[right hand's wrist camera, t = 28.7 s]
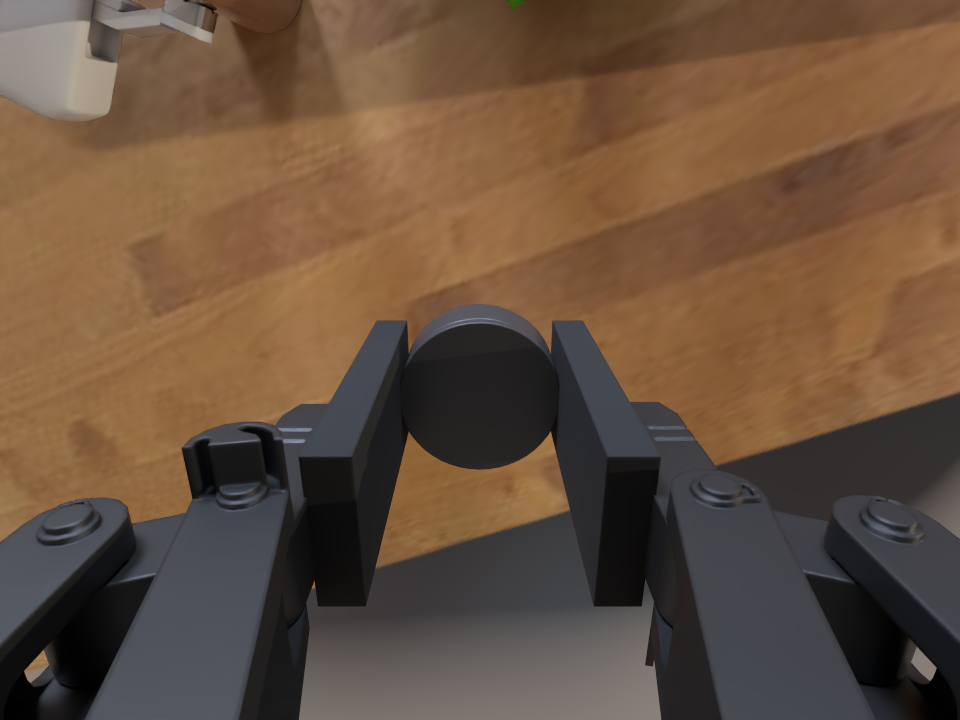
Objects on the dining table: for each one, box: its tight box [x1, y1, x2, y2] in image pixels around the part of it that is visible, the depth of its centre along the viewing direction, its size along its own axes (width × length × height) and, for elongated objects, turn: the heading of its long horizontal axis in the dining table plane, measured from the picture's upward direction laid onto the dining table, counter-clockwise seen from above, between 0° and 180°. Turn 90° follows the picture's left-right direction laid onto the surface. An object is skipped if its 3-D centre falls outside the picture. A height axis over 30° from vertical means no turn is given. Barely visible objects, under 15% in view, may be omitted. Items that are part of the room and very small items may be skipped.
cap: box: [400, 304, 559, 469], centre depth 14 cm, size 4×4×2 cm
